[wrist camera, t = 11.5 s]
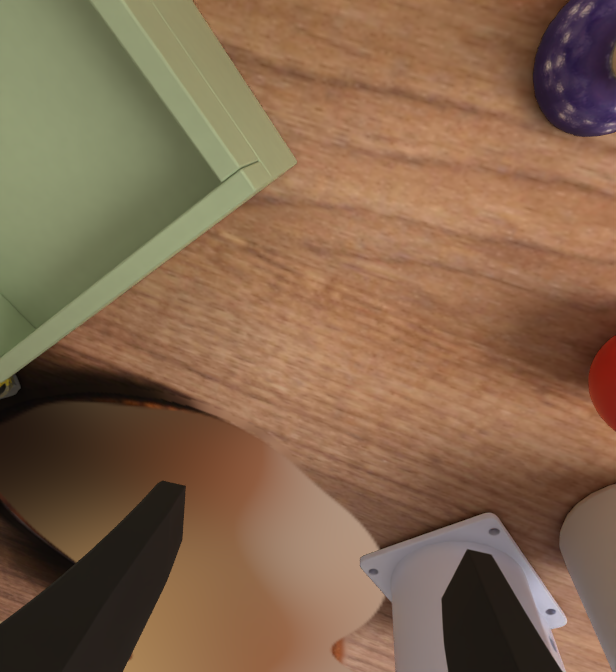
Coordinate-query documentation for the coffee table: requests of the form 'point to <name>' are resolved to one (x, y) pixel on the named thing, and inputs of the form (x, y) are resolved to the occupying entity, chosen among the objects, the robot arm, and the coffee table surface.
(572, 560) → the cup
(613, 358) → the ball
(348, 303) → the coffee table surface
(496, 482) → the coffee table surface
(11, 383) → the race car
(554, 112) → the toy lamp
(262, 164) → the open box
